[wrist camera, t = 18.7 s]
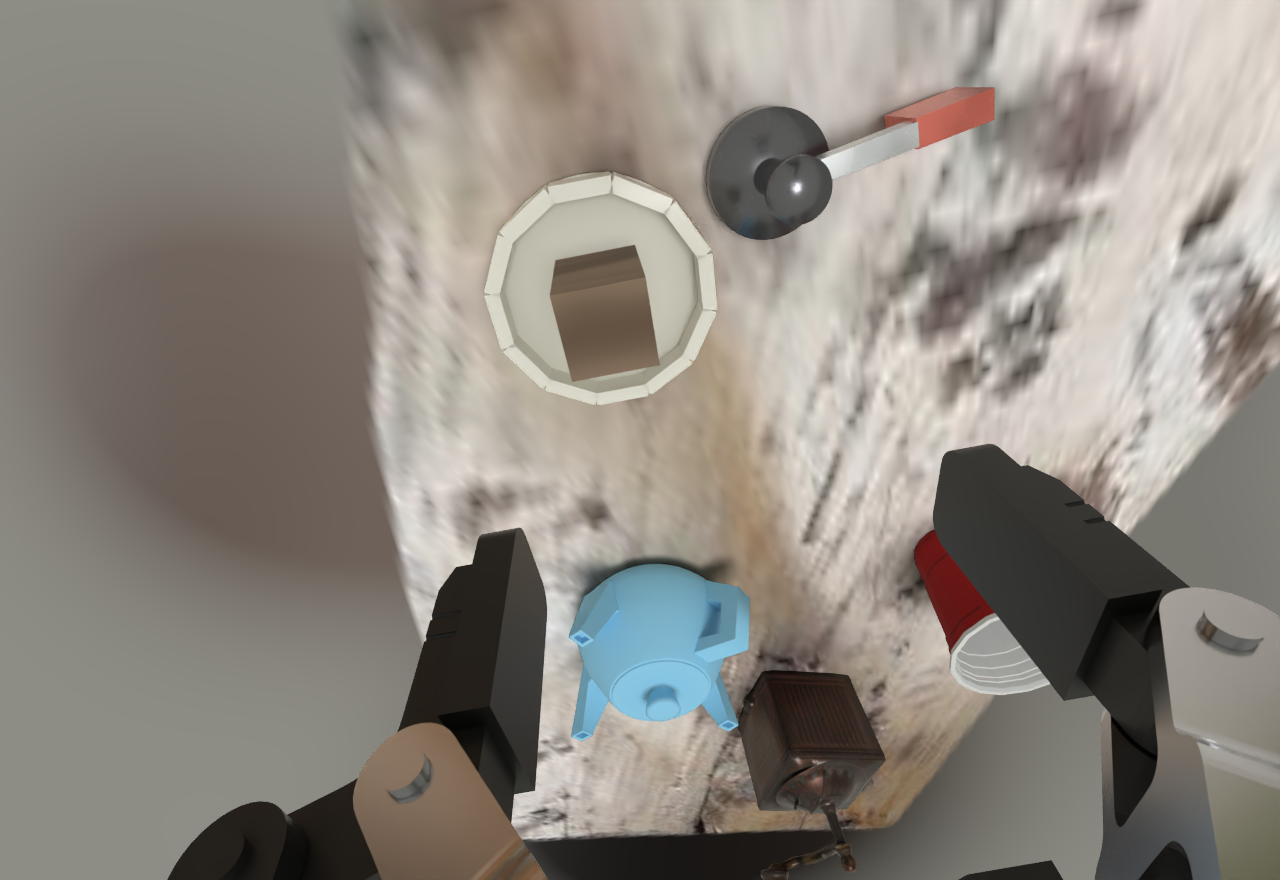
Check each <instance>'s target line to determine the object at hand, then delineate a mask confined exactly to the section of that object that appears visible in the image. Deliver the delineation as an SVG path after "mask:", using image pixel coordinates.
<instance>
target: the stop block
mask: <svg viewBox="0 0 1280 880" xmlns="http://www.w3.org/2000/svg"><path fill="white" fill-rule="evenodd" d="M550 299H551V303H552V307H553V311H554V315H555V318H556V322H557V326H558V330H559V334H560V337H561V341H562V345H563V349H564V353H565V357H566V360H567V364H568V368H569V372H570V376H571V379H572V382H575V381H580V380H585V379H590V378H596V377H601V376H606V375H611V374H617V373H622V372H627V371H632V370H638V369H643V368H648V367H653V366H659V365H660V363H659V357H658V351H657V344H656V338H655V332H654V326H653V320H652V314H651V307H650V301H649V295H648V289H647V283H646V277H645V274H644V271H643V268H642V265H641V262H640V259H639V256H638V253H637V250H636V247H635V245H631V246H626V247H621V248H615V249H610V250H605V251H600V252H595V253H590V254H585V255H579V256H574V257H569V258H564V259H559V260H555V266H554V272H553V278H552V284H551V290H550Z"/></svg>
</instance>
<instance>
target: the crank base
mask: <svg viewBox="0 0 1280 880" xmlns="http://www.w3.org/2000/svg"><path fill="white" fill-rule="evenodd" d="M828 151H829V149H828V145H827V142H826V139H825V137H824V135H823V133H822V131H821V130H820V128H819V127H818V125H817V124H816V123H815V122H814V121H813V120H812V119H811V118H809V117H808V116H807V115H805V114H804V113H802V112H800V111H798V110H795V109H792V108H787V107H779V106H765V107H759V108H755V109H752V110H750V111H747V112H745V113H744V114H742V115H740V116H739V117H737V118H736V119H735V120H733V121H732V122H731V123H730V124H729V125H728V126H727V127H726V128H725V129H724V130H723V132H722V133H721V134H720V136H719V137H718V139H717V141H716V142H715V144H714V146H713V148H712V151H711V153H710V156H709V160H708V164H707V171H706V186H707V193H708V196H709V200H710V202H711V205H712V207H713V209H714V210H715V212H716V214H717V215H718V216H719V217H720V219H721V220H722V221H723V222H724V223H725V224H727V225H728V226H729V227H730V228H731V229H732V230H733V231H735V232H736V233H738V234H740V235H742V236H744V237H748V238H751V239H757V240H767V239H774V238H778V237H781V236H784V235H786V234H788V233H790V232H792V231H794V230H795V229H797V228H798V227H799V226H801V225H802V224H805V223H808V222H810V221H812V220H813V219H815V218H816V217H817V216H818V215H820V213H821V212H822V211H823V210H824V209H825V207H826V205H827V204H828V202H829V199H830V196H831V193H832V177H831V173H830V171H829V169H828V167H827V166H826V164H825V163H824V162H823V161H821V160H820V159H818V158H816V157H815V156H817V155H820V154H823V153H825V152H828Z"/></svg>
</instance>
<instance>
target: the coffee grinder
mask: <svg viewBox="0 0 1280 880" xmlns="http://www.w3.org/2000/svg"><path fill="white" fill-rule="evenodd" d="M738 729H739V731H740V733H741V737H742V742H743V746H744V750H745V754H746V758H747V762H748V766H749V770H750V774H751V778H752V782H753V786H754V790H755V794H756V798H757V804H758V807H759V810H768V811H798V810H802V811H806V812H810V813H811V814H825V815H826V816H827V819H828V821H829V824H830V827H831V830H832V833H833V835H834V838H835V841H836V844H832V843H831V844H829V845H827V846H825V847H823V848H822V849H820V850H818V851H815V852H813V853H810V854H806V855H801V856H796V857H792V858H790V859H788V860H786V861H784V862H782V863H776V862H774V861H773V862H772V865H771V866H770V867H769V869H765V870H762V871H761V877H762V878H763V880H787V877H788V874H789V873H788V870H787V869H791V868H794V867H799V866H804V865H808V864H813V863H818V862H820V861H822V860H825V859H827V858H828V857H830V856H832V855H834V854H836V853H838V856H840V857H841V862H842V867H843V869H844V870H845V871H846V872H849V873H851V872H855V870H856V866H857V864H856V862H855V859H854V858H853V857H852V856H851V853H852V849H851V845H850V844H849V843H846V840H845V838H844V835H843V832H842V830H841V827H840V824H839V822H838V818H837V815H836V810H837V809H847V808H848V807H849V806H850V804H851V803H852V802H853V801H854V800H855V798H856V797H857V796H858V795H859V793H860V792H861V791H862V789H863V788H864V787H865V786H866V784H867V783H868V782H869V781H870V779H871V778H872V777H873V776H874V774H875V773H876V772H877V771H878V769H879V768H880V767H881V765H882V764H883V763H884V762H885V756H884V753H883V751H882V749H881V747H880V745H879V743H878V741H877V738H876V736H875V734H874V732H873V729H872V727H871V725H870V723H869V720H868V718H867V716H866V714H865V712H864V709H863V707H862V705H861V703H860V701H859V699H858V696H857V694H856V692H855V690H854V687H853V685H852V683H851V679H850V678H849V676H846V675H839V674H829V673H811V672H792V671H766V672H763V673H762V675H761V677H760V679H759V680H758V682H757V684H756V685H755V687H754V689H753V690H752V692H751V693H750V695H749V697H748V698H747V700H746V702H745V705H744V707H743V711H742V714H741V716H740V720H739V726H738Z"/></svg>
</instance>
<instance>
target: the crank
mask: <svg viewBox="0 0 1280 880" xmlns="http://www.w3.org/2000/svg"><path fill="white" fill-rule="evenodd" d="M992 120H994V87H969V88H953V89H950V90H948V91H945V92H943V93H940V94H938V95H935V96H933V97H930V98H928V99H925V100H923V101H920V102H918V103H915V104H912V105H910V106H907V107H905V108H902V109H900V110H897V111H895V112H892V113H890V114H887V115H885V125H886V129H884V130H881V131H879V132H876V133H873V134H871V135H868V136H866V137H863V138H861V139H858V140H856V141H853V142H851V143H848V144H845V145H843V146H840V147H838V148H835V149H833V150H830V151H828V152H825V153H823V154H820V155H817V156H815V157H816V158H818V159H820V160H821V161H823V162H824V163H825V164H826V166H827V167H828V169H829V171H830V173H831V177H832V180H834V179H837V178H839V177H842V176H845V175H847V174H850V173H852V172H855V171H858V170H860V169H863V168H865V167H868V166H871V165H873V164H876V163H878V162H881V161H883V160H886V159H889V158H891V157H894V156H896V155H899V154H902V153H904V152H907V151H909V150H912V149H920V148H922V147H925V146H928V145H930V144H933V143H935V142H938V141H940V140H943V139H946V138H948V137H951V136H953V135H956V134H959V133H961V132H964V131H966V130H969V129H972V128H974V127H977V126H979V125H982V124H984V123H987V122H990V121H992Z"/></svg>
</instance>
